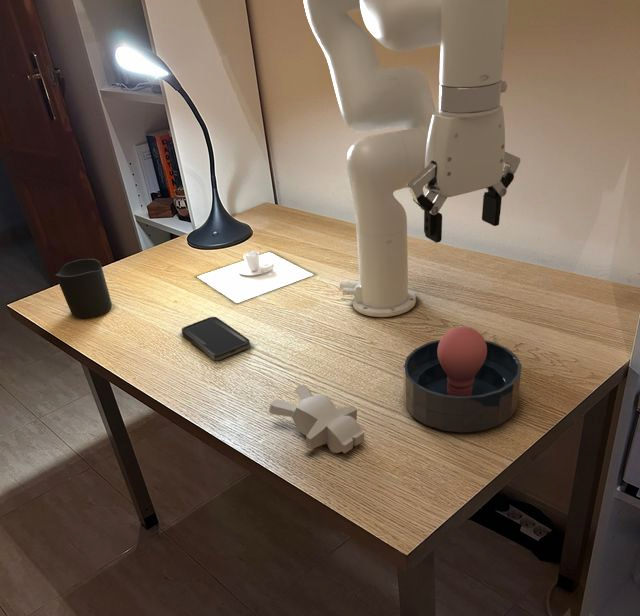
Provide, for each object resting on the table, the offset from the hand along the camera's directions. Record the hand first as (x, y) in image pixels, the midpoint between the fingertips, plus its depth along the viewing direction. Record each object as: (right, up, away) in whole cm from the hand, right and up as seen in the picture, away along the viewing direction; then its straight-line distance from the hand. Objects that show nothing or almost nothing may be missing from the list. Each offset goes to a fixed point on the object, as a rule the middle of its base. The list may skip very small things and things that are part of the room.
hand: (462, 231), depth 89 cm
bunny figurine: (-20, -29, +6) cm, 35 cm away
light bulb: (+1, -24, +8) cm, 25 cm away
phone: (-40, -11, +32) cm, 53 cm away
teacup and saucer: (-35, +7, +56) cm, 66 cm away
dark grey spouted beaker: (-70, -3, +49) cm, 85 cm away
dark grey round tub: (+2, -24, +8) cm, 25 cm away
